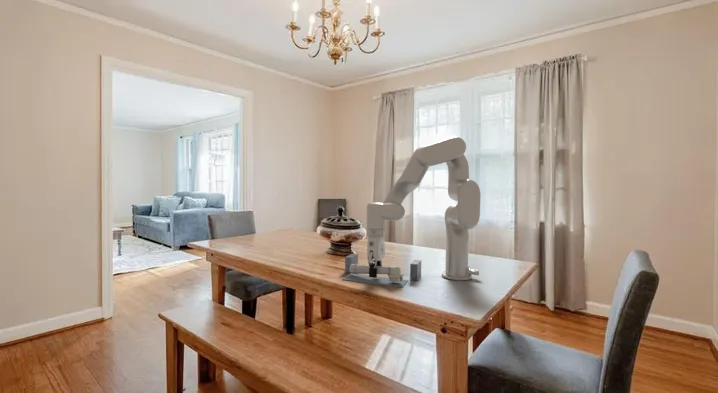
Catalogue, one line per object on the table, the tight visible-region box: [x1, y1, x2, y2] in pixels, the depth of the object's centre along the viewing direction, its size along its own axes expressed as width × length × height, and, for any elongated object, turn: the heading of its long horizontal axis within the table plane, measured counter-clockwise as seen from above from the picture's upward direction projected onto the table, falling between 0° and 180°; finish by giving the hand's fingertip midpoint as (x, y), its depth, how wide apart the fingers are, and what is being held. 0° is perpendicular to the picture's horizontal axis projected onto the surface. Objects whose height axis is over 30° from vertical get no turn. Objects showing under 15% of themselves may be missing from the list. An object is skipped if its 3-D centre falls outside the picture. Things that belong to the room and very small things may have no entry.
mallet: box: [348, 263, 404, 282], centre depth 142 cm, size 5×7×25 cm
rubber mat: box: [341, 273, 409, 288], centre depth 142 cm, size 26×9×1 cm, turn 68°
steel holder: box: [344, 253, 422, 282], centre depth 151 cm, size 33×8×7 cm, turn 68°
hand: (375, 274), depth 142 cm, fingers closed on mallet, 5 cm apart
